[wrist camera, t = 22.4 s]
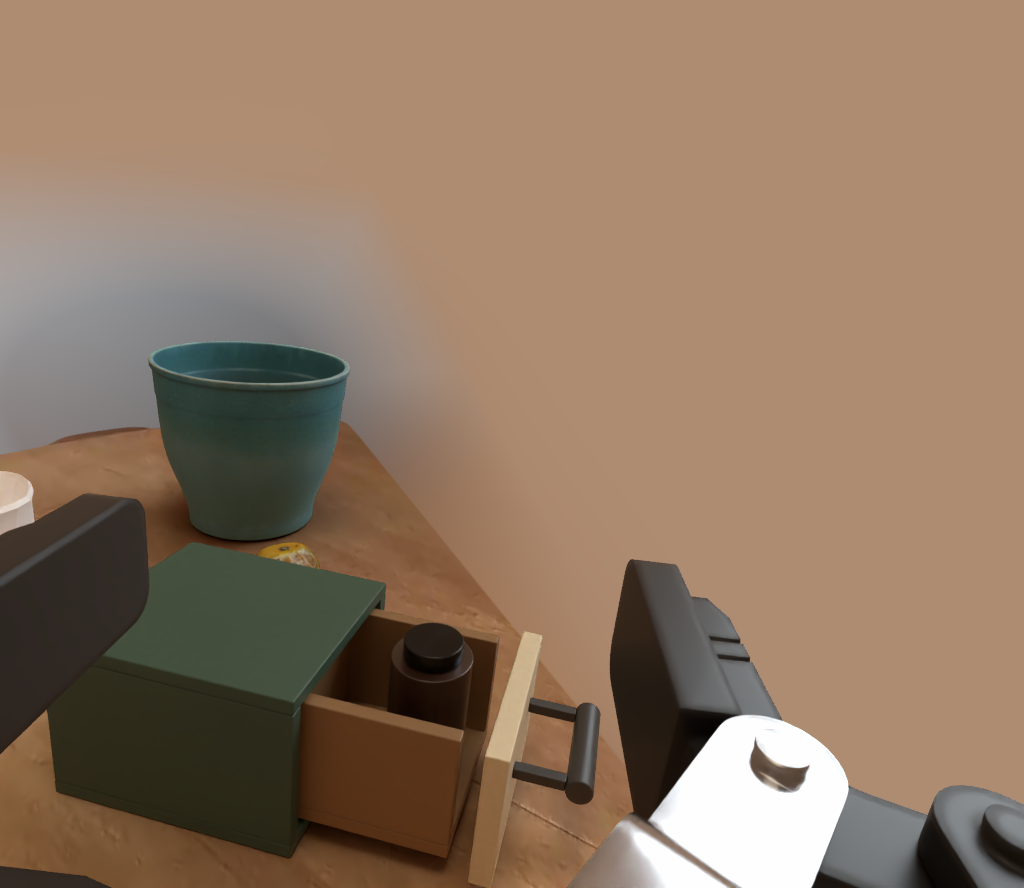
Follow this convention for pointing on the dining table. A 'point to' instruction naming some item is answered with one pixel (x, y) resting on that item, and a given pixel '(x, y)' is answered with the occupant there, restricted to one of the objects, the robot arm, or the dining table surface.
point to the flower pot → (248, 431)
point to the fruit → (291, 554)
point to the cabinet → (210, 695)
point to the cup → (15, 501)
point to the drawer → (428, 748)
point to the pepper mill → (431, 675)
